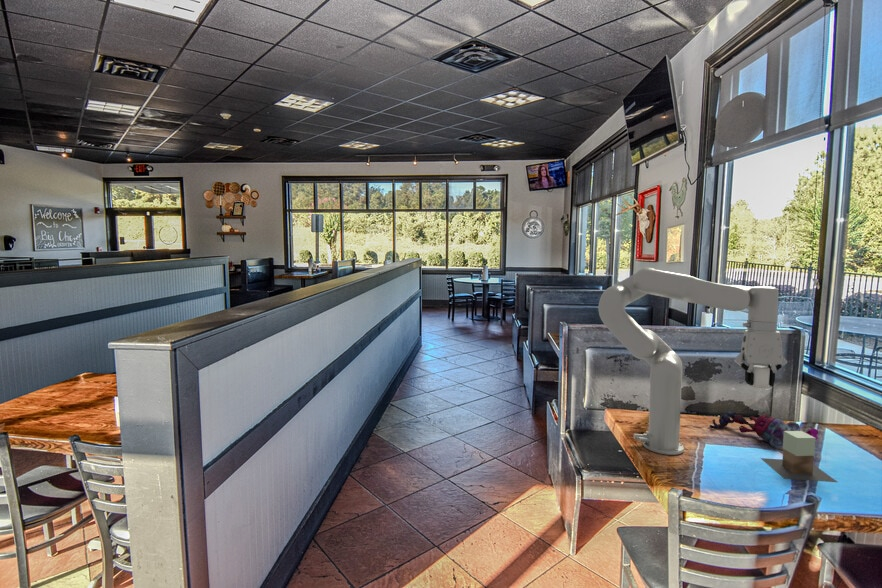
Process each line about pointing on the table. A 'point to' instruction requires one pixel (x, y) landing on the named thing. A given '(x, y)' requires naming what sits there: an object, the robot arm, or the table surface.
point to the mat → (786, 474)
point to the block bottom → (798, 463)
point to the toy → (763, 427)
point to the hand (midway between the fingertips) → (759, 383)
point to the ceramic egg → (761, 376)
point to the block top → (799, 443)
